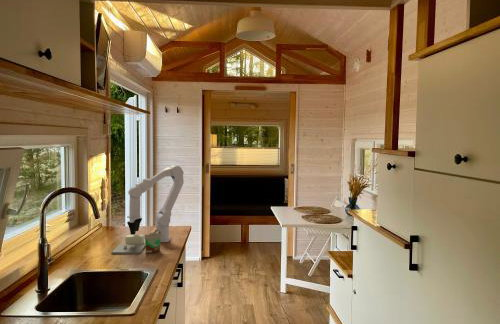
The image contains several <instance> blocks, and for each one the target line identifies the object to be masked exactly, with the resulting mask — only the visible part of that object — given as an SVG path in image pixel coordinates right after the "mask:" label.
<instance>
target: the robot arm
mask: <svg viewBox="0 0 500 324" xmlns="http://www.w3.org/2000/svg"><path fill="white" fill-rule="evenodd" d="M166 177H167V178H168V177H170V178H171V179H172V182H173V184H172V186H171V187H170V188H171V189H170V190H169V192H168V195H167V197H166V200H165V201H164V204H163V206H162V208H160V209H159V211H158V212H157V214H155V216H154V220H155V222H156V225H155V230H159V231H161V232H162V237H161V242H160V243H169V242H170V240H171V238H172V237H170V224H171V217H172V210H173V208H174V206H175V203H176V201H177V200H178V199H177V198H178V197H179V195H180V192H181V190H182V187H183V186H184V183H185V182H184V170H183V169H182V167H181V166H179V165H174V164H171V165H169V166H166V167H165V168H163V169H162V170H161V171H159V172H158V173H156V174H155V175H154V176H153V177H151V178H143V179H142V181H141V182H139V183H138V184H137V183H136V184H134V185H135V186H132V187H130V188H129V190H128V192H127V193H128V195H129V214H128V216H127V219H129V220H128V221H127V222H126V224H127V226H128V227H129V231H130V233H129V234H130V235H136V232H139V231H140V225H141V222H142V221H143V218H142V217H141V196H142V194H144V193H145V192H147V191H149V190H150V189H151V188H153V186H154V184H156V183H157V182H159V181H160V180H162V179H164V178H166Z"/></svg>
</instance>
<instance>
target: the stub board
mask: <svg viewBox="0 0 500 324" xmlns="http://www.w3.org/2000/svg"><path fill="white" fill-rule="evenodd" d="M144 249H146V248H145V244H143V245H134V244H133V245H126V244H118V245H117V246H116V247H115V248H114V249H113V250H112V251H111V255H141V253H142V252H143V251H144Z"/></svg>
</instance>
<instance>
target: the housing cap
mask: <svg viewBox="0 0 500 324" xmlns="http://www.w3.org/2000/svg"><path fill="white" fill-rule="evenodd" d="M144 238H145V234H135V235H131V234H127V235H126V236H125V239H124V240H125V242H124V243H125V244H126V245H133V244H134V245H144V244H145V239H144ZM125 244H124V245H125Z"/></svg>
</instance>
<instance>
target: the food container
mask: <svg viewBox="0 0 500 324" xmlns="http://www.w3.org/2000/svg"><path fill="white" fill-rule="evenodd" d="M161 237H162V232H161V231H159V230H156V229H155V230H154V231H153V232H150V233H148V234H144V245H145V248H144V249H145V254H146V255H151V254H154V255H155V254H157V253H160V251H161V243H162V242H161Z"/></svg>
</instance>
